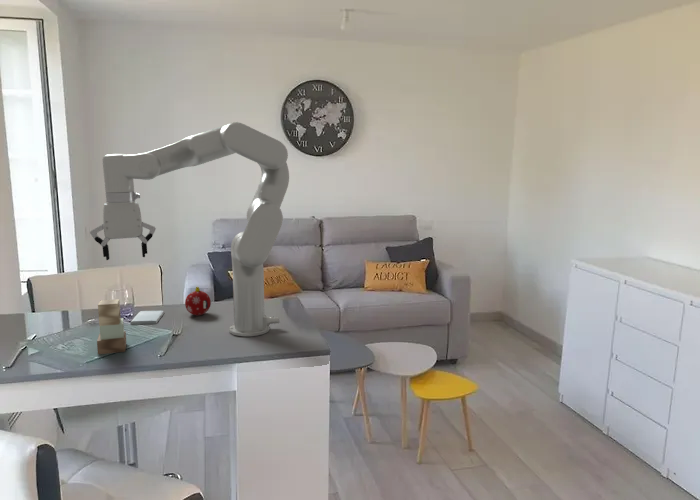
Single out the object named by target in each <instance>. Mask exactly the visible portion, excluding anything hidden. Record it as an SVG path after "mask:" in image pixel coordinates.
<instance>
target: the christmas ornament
mask: <svg viewBox="0 0 700 500" xmlns="http://www.w3.org/2000/svg"><path fill="white" fill-rule="evenodd" d="M211 304H212V301H211V297H210V295H208V294H207V293H206V291H203V290H200V287H199V286H196V287H195V290H194V291H191V292H190V293H189V294H188V295H187V296H186V298H185V299H184V306H185V308H186V311H188V314H191V315H192V316H193V315H194V316H202V315H205V313H207V312H208V311H209V310H210V309H211Z"/></svg>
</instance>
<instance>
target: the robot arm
mask: <svg viewBox="0 0 700 500" xmlns="http://www.w3.org/2000/svg"><path fill="white" fill-rule="evenodd" d="M234 154H238V155H240V156H242V157H244V158H246V159H248V160H249V161H252V162H254V163H257V164H258V166H259V168H260V171H261V178H260V180H259V184H258V187H257V190H256V191H255V193H254V196H253V198H252V200H251V202H250V204H249V206H248V207H247V208H248V209H247V211H246V220H247V223H246V226H245V228H244V231H241V232H238V233H237V234H235V236H234V237H233V238H232V240H231V243H230V254H231V265H232V266H231V267H232V296H233V297H232V299H233V324H232V325H230V326H229V327H228V331H229V333H230V334H232V335H233V336H237V337H238V336H239V337H256V336H257V337H258V336H261V335H264V334H267V333H268V332H269V331H270V324H271V325H272V324H274V325H276V324H280V323H281V322H280V317H279V316H278V317H277V316H276V317H275V316H266V315H265V279H264V278H265V273H264V271H265V270H264V263H265V262H266V261H267V259H268V257H269V256H270V253H271V251H272V249H273V246H274V245H275V243H276V240H277V238H278V235H279V233H280V231H281V228H282V225H283V217H284V216H283V211H282V209H281V206H282V203H283V202H284V198H285V196H286V193H287V190H288V187H289V182H290V171H289V166H288V163H287V161H288V157H289V153H288V149H287V147H286V146H285V144H284V143H283V142H282V141H280V140H278V139H276V138H274V137H272V136H270V135H268V134H265V133H263V132H261V131H259V130H257V129H255V128H254V127H253V128H252V127H251V126H248V125H247V124H244V123H242V122H238V121H237V122H235V121H234V122H231V123H228V124H225V125H221V126H219V127H216V128H215V127H214V128H213V129H208V130H207V131H203V132H200V133H196V134H192V135H189V136H187V137H185V138H183V139H180V140H179V141H176V142H174V143H172V144H168V145H166V146H163V147H160V148H157V149H153V150H150V151H147V152H141V153H137V154H136V153H135V154H127V153H126V154H125V153H112V154H105V155H104V156H103V157H102V169H103V179H104V190H105V201H106V203H104V204H103V209H102V211H103V213H102V218H103V219H102V221H103V224H101V225H99V226H97V227H95V228H94V229H92V230H90V231H89V233H90V235H91V237H92V238H93V239H94V241H95V242H97V243H98V245H100V246H101V247H102V254H103V255H102V256H103V258H105V260H106V261H109V260H110V248H109V245H108V243H109V241H110V240H117V239H119V240H120V239H133V238H137V239H139V240H140V241H141V253H142V257H143V258H145V257H146V254H148V246H147V245H148V242H149V241H150V240H151V239H152V237H153V236H154V234H155V232H156V229H157V227H155V226H154V225H151V224H149V223H147V222H144V221H142V214H141V208H140V205H139V204H140V203H139V202H137V201H136V200H138V199H140V198H141V193H137V192H135V184H134V179H135V180H144V181H151V180H154V179H156V177H158V176H161V175H165V174H167V173H171V172H174V171H177V170H181V169H185V168H190V167H191V168H193V167H196V166H200V165H205V164H206V163H210V162H212V161H215V160H219V159H221V158H224V157H229V156H231V155H234ZM144 229H147V230H149V232H148V234H147V235H143V230H144ZM101 231H103V233H104V238H101V237H99V235H98V233H99V232H101Z"/></svg>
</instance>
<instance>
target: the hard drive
mask: <svg viewBox="0 0 700 500" xmlns="http://www.w3.org/2000/svg"><path fill="white" fill-rule="evenodd" d="M164 314H165V312H164V310H141V311H139V312H138V313H137V314H136V315H135V316H134V317H133V319H132V320H131V321H130V325H156V324H158V322H159V320H161V318H162V317H163V316H164Z"/></svg>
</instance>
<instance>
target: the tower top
mask: <svg viewBox="0 0 700 500" xmlns="http://www.w3.org/2000/svg"><path fill="white" fill-rule="evenodd" d="M124 323H125V322H124V317H121V320H120V323H119V324H118V325H105V326H99V333H100V340H105V339H114V338H124V331H125V327H124V326H125V324H124Z"/></svg>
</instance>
